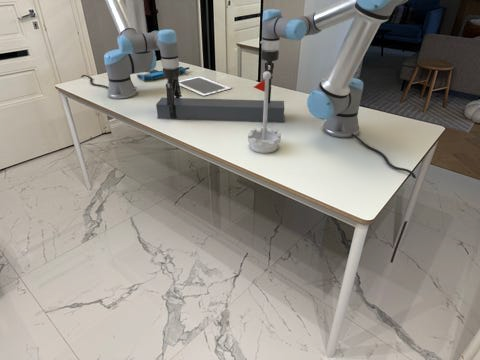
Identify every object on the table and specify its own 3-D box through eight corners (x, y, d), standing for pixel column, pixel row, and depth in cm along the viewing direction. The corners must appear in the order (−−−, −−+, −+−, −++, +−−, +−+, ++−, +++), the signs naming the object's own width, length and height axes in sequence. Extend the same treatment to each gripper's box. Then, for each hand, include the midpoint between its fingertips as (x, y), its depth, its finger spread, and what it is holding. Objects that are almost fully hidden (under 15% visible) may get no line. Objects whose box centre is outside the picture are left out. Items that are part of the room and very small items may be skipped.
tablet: (173, 83, 208) (173, 82, 207) (200, 76, 219) (200, 76, 218) (203, 96, 187) (203, 95, 187) (231, 88, 198) (231, 87, 198)
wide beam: (283, 114, 166) (283, 100, 162) (283, 122, 158) (284, 108, 154) (163, 110, 170) (161, 97, 166) (158, 118, 162) (156, 104, 158)
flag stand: (271, 137, 144) (275, 65, 128) (285, 150, 134) (292, 74, 118) (243, 142, 140) (243, 68, 124) (255, 156, 130) (257, 78, 114)
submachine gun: (174, 61, 240) (194, 66, 223) (175, 66, 242) (194, 72, 225) (128, 70, 221) (146, 76, 205) (130, 76, 223) (147, 82, 207)
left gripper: (169, 61, 162) (174, 105, 175) (155, 74, 144) (162, 123, 156) (184, 61, 162) (188, 106, 174) (172, 74, 143) (178, 123, 155)
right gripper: (262, 43, 156) (260, 88, 168) (260, 56, 135) (258, 107, 147) (278, 43, 155) (275, 88, 167) (279, 57, 135) (275, 108, 146)
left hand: (176, 114), depth 165 cm, fingers closed on wide beam, 10 cm apart
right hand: (267, 97), depth 157 cm, fingers open, 13 cm apart
